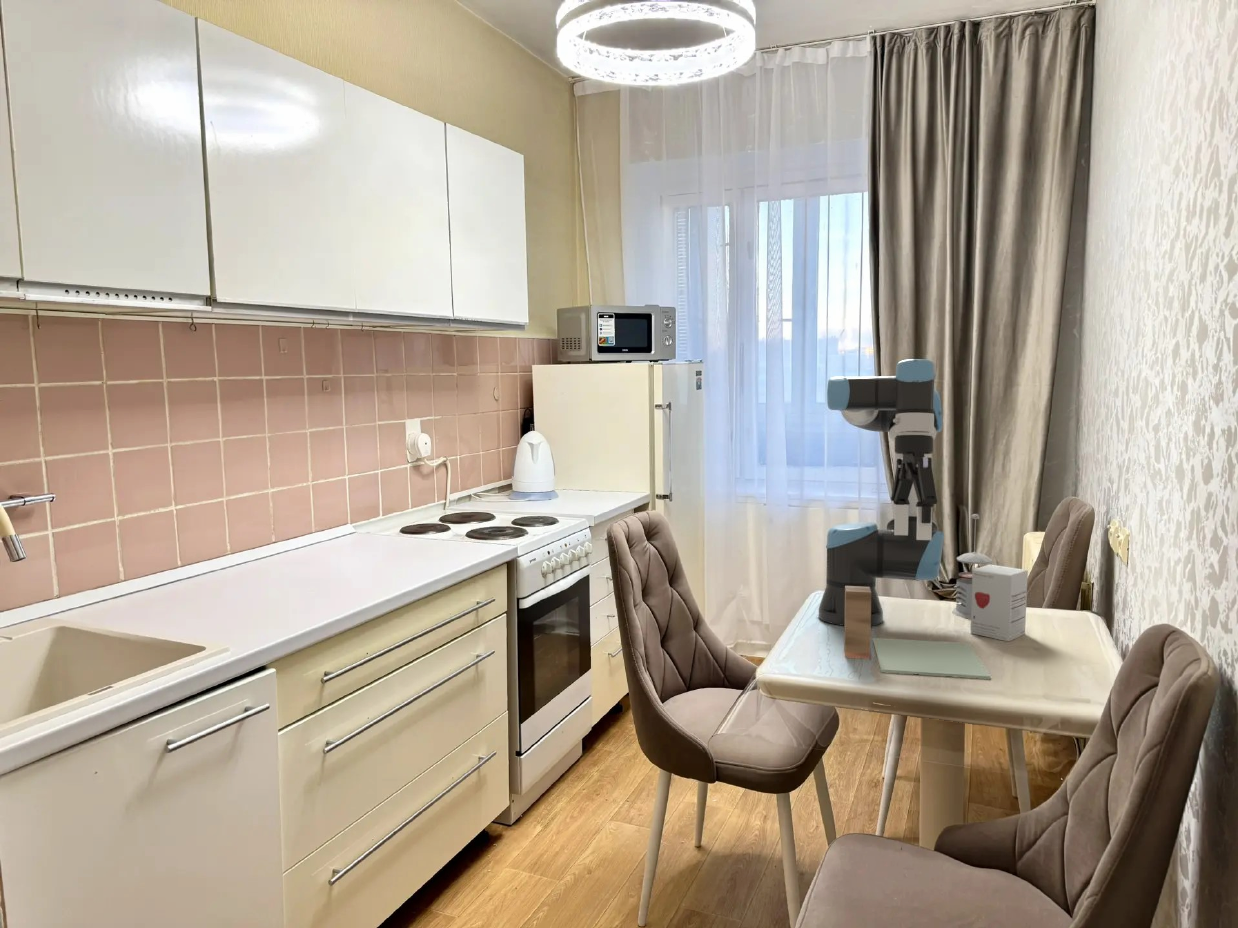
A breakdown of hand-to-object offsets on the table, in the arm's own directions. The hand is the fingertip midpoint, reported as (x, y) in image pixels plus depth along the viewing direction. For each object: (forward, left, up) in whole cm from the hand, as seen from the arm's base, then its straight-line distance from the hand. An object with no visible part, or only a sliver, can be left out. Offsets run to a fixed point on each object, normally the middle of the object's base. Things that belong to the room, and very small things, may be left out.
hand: (912, 537), depth 173 cm
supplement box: (-21, +21, -25) cm, 39 cm away
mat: (+1, +3, -25) cm, 25 cm away
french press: (-38, +19, -25) cm, 49 cm away
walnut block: (+1, -11, -25) cm, 27 cm away
